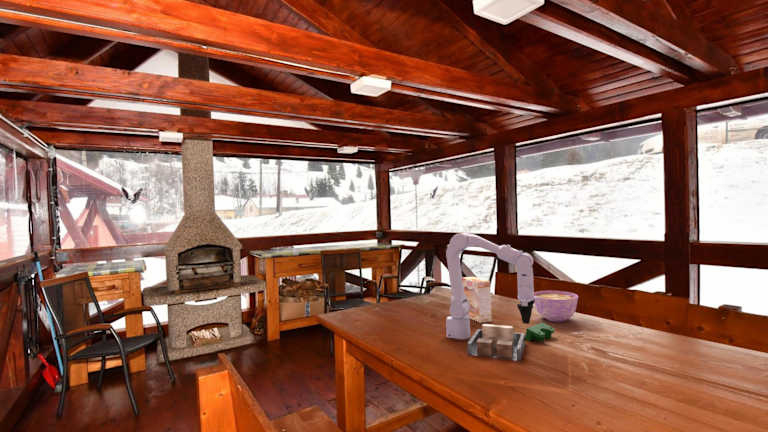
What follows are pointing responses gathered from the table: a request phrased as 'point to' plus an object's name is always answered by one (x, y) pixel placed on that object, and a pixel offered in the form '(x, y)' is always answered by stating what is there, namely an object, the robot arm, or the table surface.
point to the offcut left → (485, 346)
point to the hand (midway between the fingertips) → (526, 320)
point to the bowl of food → (555, 304)
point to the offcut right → (504, 349)
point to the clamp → (539, 332)
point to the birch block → (497, 333)
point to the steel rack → (517, 351)
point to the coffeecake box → (478, 298)
